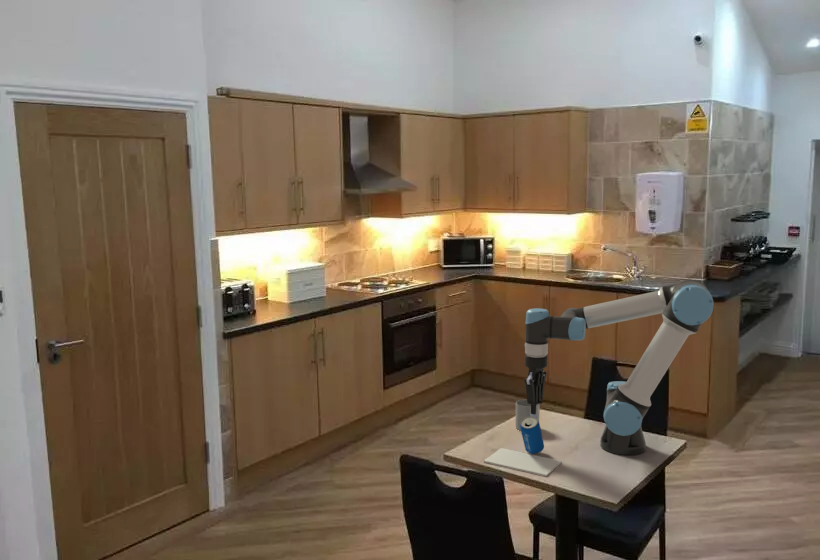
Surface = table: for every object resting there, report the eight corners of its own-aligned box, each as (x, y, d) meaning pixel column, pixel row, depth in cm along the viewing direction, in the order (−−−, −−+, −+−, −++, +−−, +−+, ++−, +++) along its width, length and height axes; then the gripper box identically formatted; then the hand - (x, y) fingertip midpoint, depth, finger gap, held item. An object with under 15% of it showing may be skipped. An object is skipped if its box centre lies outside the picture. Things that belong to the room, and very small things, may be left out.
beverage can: (522, 452, 245) (515, 425, 239) (531, 439, 248) (525, 413, 243) (538, 457, 240) (532, 430, 235) (547, 445, 244) (542, 418, 239)
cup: (539, 432, 264) (539, 406, 262) (517, 432, 264) (517, 406, 262) (536, 424, 272) (536, 399, 271) (514, 424, 272) (514, 399, 271)
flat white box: (561, 462, 236) (561, 461, 236) (546, 476, 225) (546, 474, 225) (501, 449, 247) (501, 447, 247) (483, 462, 237) (483, 460, 237)
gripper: (533, 349, 247) (532, 415, 251) (517, 357, 237) (516, 425, 240) (554, 352, 243) (552, 419, 247) (538, 360, 233) (536, 430, 236)
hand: (534, 422), depth 243 cm, fingers closed
